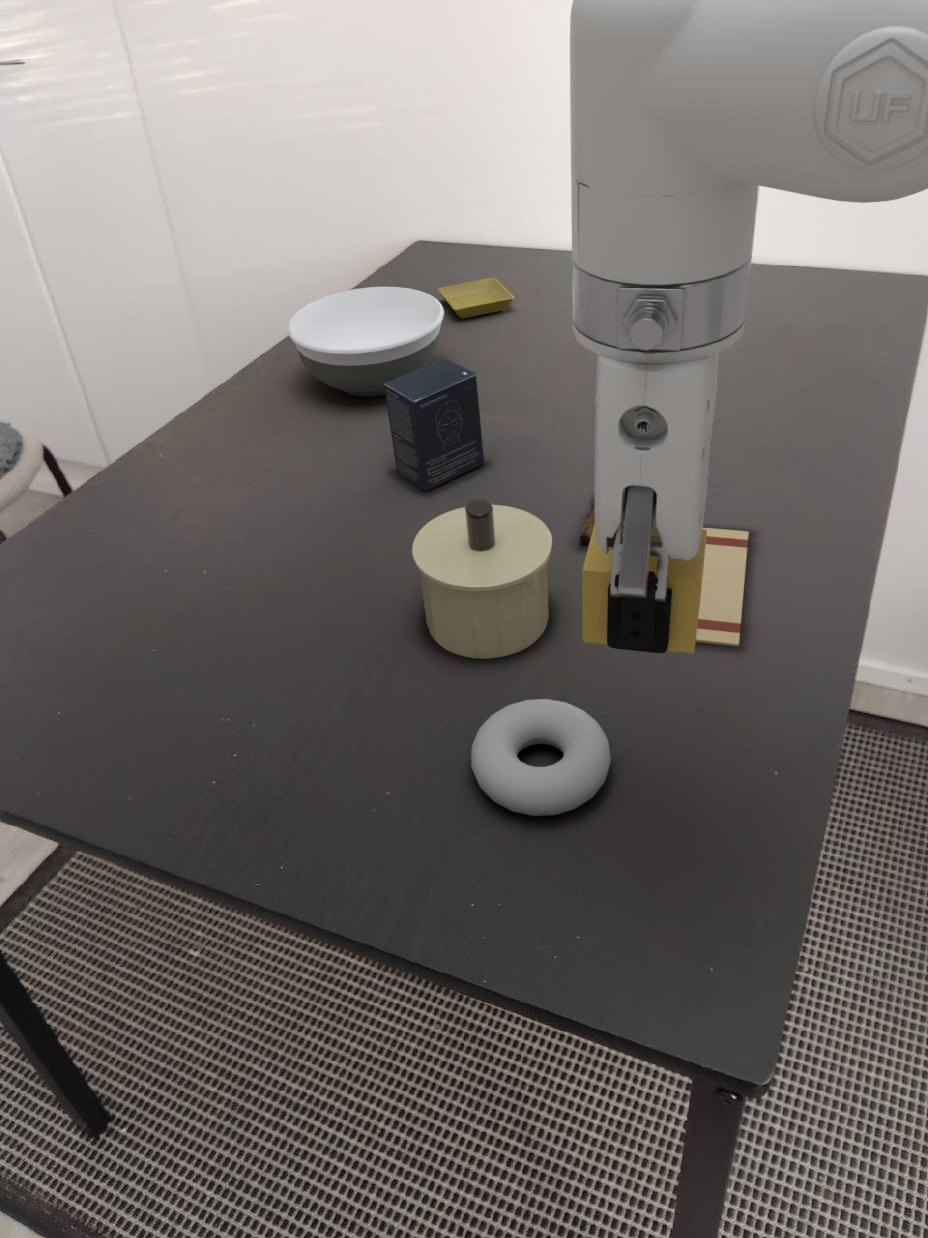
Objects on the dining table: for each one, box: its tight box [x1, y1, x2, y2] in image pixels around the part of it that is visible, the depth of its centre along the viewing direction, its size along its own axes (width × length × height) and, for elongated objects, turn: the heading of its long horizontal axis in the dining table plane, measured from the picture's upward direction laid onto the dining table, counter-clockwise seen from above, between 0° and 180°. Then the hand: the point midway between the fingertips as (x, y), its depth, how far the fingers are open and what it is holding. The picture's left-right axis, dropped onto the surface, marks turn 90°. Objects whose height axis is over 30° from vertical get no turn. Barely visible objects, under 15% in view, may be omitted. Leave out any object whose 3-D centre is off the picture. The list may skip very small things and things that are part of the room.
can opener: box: [579, 497, 595, 545], centre depth 94 cm, size 9×2×1 cm, turn 154°
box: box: [384, 357, 485, 492], centre depth 100 cm, size 8×6×11 cm
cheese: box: [581, 524, 707, 654], centre depth 53 cm, size 6×4×5 cm
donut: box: [470, 698, 612, 817], centre depth 70 cm, size 10×4×10 cm
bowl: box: [287, 286, 445, 398], centre depth 119 cm, size 19×19×8 cm
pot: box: [419, 562, 550, 660], centre depth 82 cm, size 10×10×7 cm
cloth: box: [696, 527, 750, 648], centre depth 86 cm, size 10×16×1 cm, turn 165°
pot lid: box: [411, 499, 553, 592], centre depth 79 cm, size 11×11×5 cm
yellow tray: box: [437, 277, 515, 319], centre depth 135 cm, size 9×9×2 cm
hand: (643, 613), depth 54 cm, fingers closed on cheese, 4 cm apart
